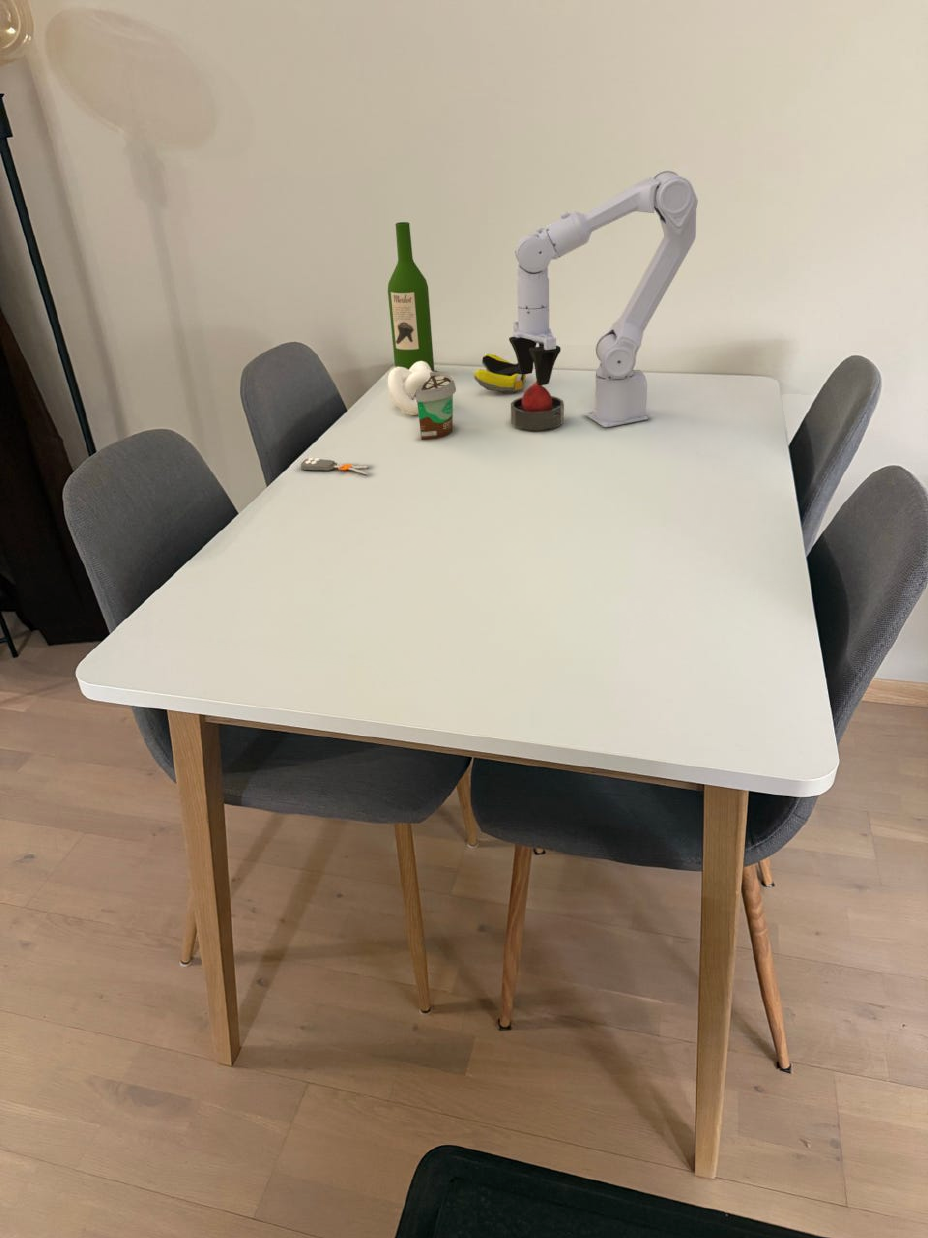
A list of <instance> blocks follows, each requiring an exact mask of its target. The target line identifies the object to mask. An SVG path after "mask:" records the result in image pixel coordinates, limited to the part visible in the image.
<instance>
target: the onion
mask: <svg viewBox="0 0 928 1238" xmlns="http://www.w3.org/2000/svg"><path fill="white" fill-rule="evenodd" d="M551 396H552V395H551V393H550V391H549V390H548V389H547V388H546V387H545V386H544V385H540V386H539V385H538V384H537V380H536V379H535V380H534V382H533V384H531V385H530V386H529V387H528V388H526V390H525V391H524V393H523V394H522V396H521V397H522V407H523V410H524V411H530V412H540V411H547V410H550V409H551V407H552V397H551Z"/></svg>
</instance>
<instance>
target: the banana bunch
mask: <svg viewBox="0 0 928 1238" xmlns="http://www.w3.org/2000/svg"><path fill="white" fill-rule="evenodd" d="M481 363H482V365H483V366H484V368H485V369H481V368H479V369H478V370H476V371H474V373H473V378H474V380H475V381H476V382H477V383H478V384H479V385H480V386H481V387H482V388H484V389H485V390H486V391H487V390H488V391H497V392H498V391H499V392H501V393H502V394H503V395H504V394H505V395H510V394H511V395H512V394H513V393H514V392H517V391H520V390H521V389H523V383H524V382H525V381H526V380H527V379H526V378H527V377H526V374H525V375H522V374H521V372H520V369H519V365H518V362H517V363H512V362H510V361H508V360H507V359H504V358H502V357H500V356H498V355H497V354H492V353H487V354H485V355H484V356H482V359H481Z"/></svg>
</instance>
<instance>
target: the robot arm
mask: <svg viewBox="0 0 928 1238" xmlns="http://www.w3.org/2000/svg"><path fill="white" fill-rule="evenodd" d="M698 204H699V200H698V198H697V195H696V191H695V188H694V186H693V184H692V183H691V181H689V179H687V178H686V177H684V176H682V175H681V176H680V175H679V174H678V173H676V172H675V171H673V170H672V171H671V170H663V171H660V172H658V173H656V175H654V176H649V177H647V178H644V179H641V180H640V181H638V182H636V183H635V184H633V185H631V186H629V187H628V188H626V189H625V190H622V191H621V192H620V193H619V192H618V194H616V195H614V196H613V197H611V198H609V199H607V200H606V201H604V202H602V203H600V204H599V205H597V206H596V207H594V208H592V209H591V210H589V211H587V212H585V213H582V212H578V211H576V210H574V211H572V212H570V213H569V212H568V210H565V211H564V212H561V213H560V217H561V218H559V219H556V220H555V221H553V222H551V223H550V224H548V225H546V226H544V227H542V226H540V225H539V226H538V227H536V229H535V231H536V233H527V234H525V235H524V236H521V238H519V241H518V242H517V244H516V247H515V250H514V254H515V258H516V260H517V261H518V268H517V276H518V278H517V319H518V321H515V322H513V332H512V336H510V337H509V338H508V341H509V344H510V345H511V347H512V349H513V352H514V353H515V357H516V360H517V363H518V365H519V369H520V372H521V374H522V375H525V376H526V375H531V374H533V370H534V371H535V381H536V380H537V384H538V385H539V386H540V385H542V386H545V385H549V384H550V381H551V377H552V373H553V368H554V366H555V363H556V360H557V358H558V356H559V354H560V353H561V346H559V345H557V338H556V337H555V336H554V334H553V332H552V330H551V328H550V278H549V265H550V264H551V261H552V260H559V259H560V258H562V257H563V256H565V255H567V254H569V253H571V252H573V251H574V250H577V249H579V248H580V247H582V246H584V245H586V244H587V243H589V241H590V237H591V236H592V233H593V232H594V231H597V230H599V229H601V228H603V227H605V226H607V225H609V224H611V223H613V222H616V221H618V220H619V219H622V218H624V217H625V216H628V215H630V214H632V213H634V212H640V213H647V214H648V213H649V214H654V213H655V212H656V215H658V217H659V221H660V225H661V228H662V231H663V238H662V240H661V241H660V243H659V245H658V246H657V249H656V250H655V252H654V255H653V256H652V258H651V260H650V262H649V264H648V266H647V267H646V269H645V271H644V273H643V274H642V276H641V277H640V280H639V282H638V284H637V286H636V287H635V289H634V291H633V292H632V295H631V296H630V299H629V300H628V302H627V304H626V305H625V307H624V309H623V311H622V312H621V315H620V316H619V318H618V319H617V320H615V321H614V322H613V324H612V325H611V327H610V328H609V330H608V331H607V332H606V333H604V334H603V335H602V336H601V337H600V338H599V339H598V340H597V342H596V345H595V355H596V357H597V358H598V361H599V362H600V363H599V366H597V369H596V370H595V389H594V390H595V395H594V397H595V399H594V402H595V403H594V411H592V412H587V413H586V417H588V418H589V419H591V420H593V422H596V423H597V424H599V425H600V426H602V428H610V427H616V426H621V425H627V424H631V423H637V422H641V421H646V420H648V419H649V418H648V416H647V401H648V382H647V378H646V374H644V372H643V371H642V370H640V369H634V368H635V367H636V365H637V364H636V363H637V355H638V352H639V350H640V348H641V346H642V341H643V337H644V332H645V330H646V329H647V326H648V325H649V323H650V321H651V320H652V317H653V316H654V314H655V312H656V310H657V308H658V306H659V305H660V303H661V301H662V300H663V298H664V297H665V294H666V292H667V291H668V289H669V287H670V285H671V284H672V282H673V280H674V278H675V276H676V274H677V273H678V271H679V269H680V268H681V266H682V265H683V262H684V260H685V259H686V257H687V255H688V253H689V252H690V250H691V247H692V246H693V245H694V242H695V240H696V237H697V236H696V235H697V232H696V231H697V207H698ZM537 344H538V346H537Z"/></svg>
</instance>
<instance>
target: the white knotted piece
mask: <svg viewBox="0 0 928 1238" xmlns="http://www.w3.org/2000/svg"><path fill="white" fill-rule="evenodd" d="M430 372H433V371H431V368H430V366H429V365H428V363H427V362H424V361H419V362H416V363H414V364H413V365H412V366H411V368H410V369H409V370H408V369H406V368H404V367H396V368H395V367H393V368H392V369H391V370H390V371H389V373H388V375H387V389H388V392H389V396H390V397H391V400H392V401H393V402H394V404H395V405H396V406H397V407H398V409H399V410H400V411H401V412H403V413H405V414H407V415H408V416H419V413H418V404H417V402H416V390H421V389H422V387H423V385H424V383H425V382H427V381H428V380H429V379H430Z"/></svg>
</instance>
